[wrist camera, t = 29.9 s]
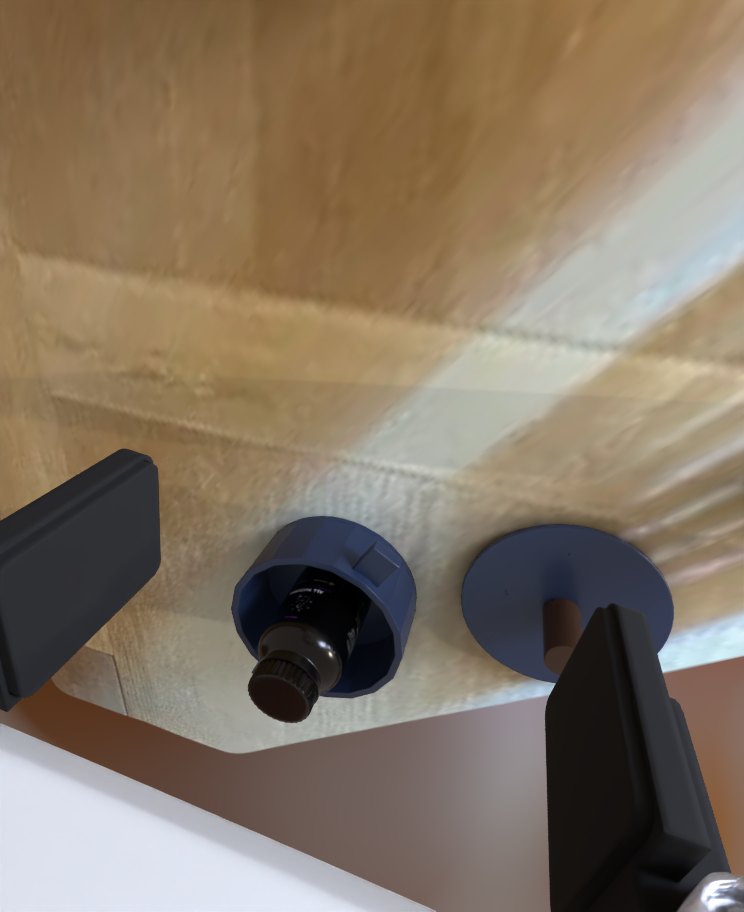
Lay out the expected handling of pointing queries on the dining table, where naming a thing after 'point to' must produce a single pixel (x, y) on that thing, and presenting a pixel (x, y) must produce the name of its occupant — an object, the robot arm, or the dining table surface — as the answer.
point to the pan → (355, 561)
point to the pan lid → (556, 594)
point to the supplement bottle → (307, 644)
